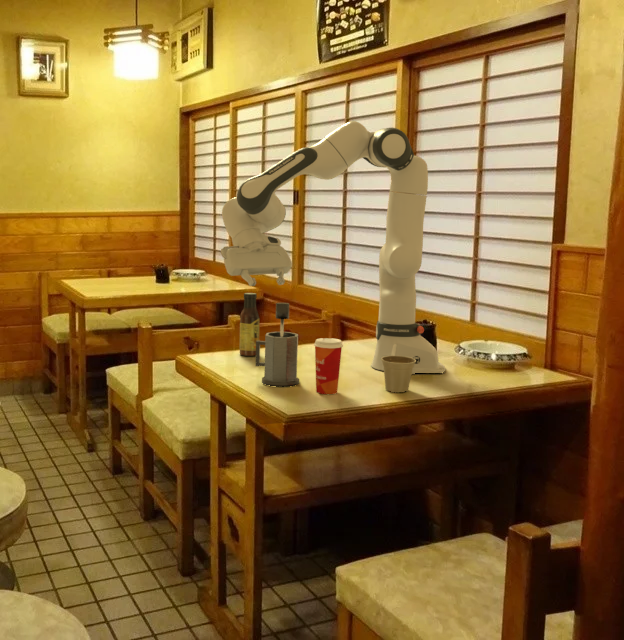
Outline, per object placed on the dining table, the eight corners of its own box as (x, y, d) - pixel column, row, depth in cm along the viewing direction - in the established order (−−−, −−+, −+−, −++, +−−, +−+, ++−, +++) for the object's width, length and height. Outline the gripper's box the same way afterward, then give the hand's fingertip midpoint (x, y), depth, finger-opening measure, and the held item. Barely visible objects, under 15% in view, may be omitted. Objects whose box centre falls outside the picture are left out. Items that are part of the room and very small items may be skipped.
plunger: (292, 364, 221) (294, 302, 218) (291, 369, 215) (292, 305, 212) (271, 363, 221) (272, 301, 218) (269, 368, 215) (270, 304, 212)
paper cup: (310, 388, 214) (312, 337, 211) (338, 388, 214) (340, 337, 212) (314, 395, 206) (315, 343, 204) (343, 395, 207) (345, 343, 204)
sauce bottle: (257, 357, 250) (259, 295, 247) (238, 356, 250) (239, 294, 247) (259, 353, 257) (261, 292, 253) (240, 352, 257) (241, 291, 254)
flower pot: (420, 394, 211) (421, 362, 210) (387, 395, 209) (388, 363, 207) (406, 385, 220) (407, 355, 219) (374, 386, 218) (376, 356, 216)
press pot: (300, 378, 223) (301, 332, 221) (298, 388, 213) (299, 339, 211) (257, 377, 224) (258, 330, 222) (253, 386, 214) (254, 337, 211)
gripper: (222, 239, 219) (239, 278, 212) (284, 238, 230) (302, 275, 224) (214, 254, 223) (231, 292, 217) (275, 252, 235) (293, 289, 228)
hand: (267, 284), depth 220 cm, fingers open, 8 cm apart
